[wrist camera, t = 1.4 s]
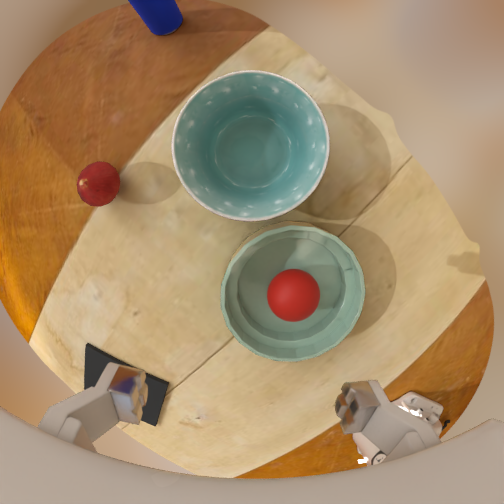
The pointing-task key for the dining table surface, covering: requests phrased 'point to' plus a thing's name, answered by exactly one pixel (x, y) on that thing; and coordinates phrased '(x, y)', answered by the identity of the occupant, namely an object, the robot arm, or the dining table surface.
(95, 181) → the onion
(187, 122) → the bowl
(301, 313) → the red ball
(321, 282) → the fruit bowl
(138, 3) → the beverage can
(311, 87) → the dining table surface
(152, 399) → the mat
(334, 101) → the dining table surface
